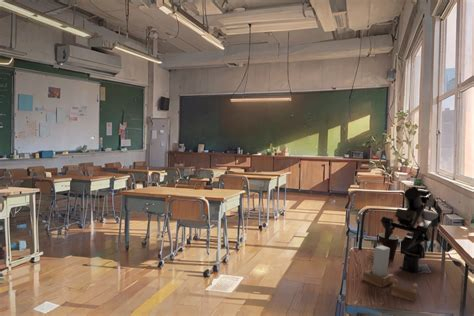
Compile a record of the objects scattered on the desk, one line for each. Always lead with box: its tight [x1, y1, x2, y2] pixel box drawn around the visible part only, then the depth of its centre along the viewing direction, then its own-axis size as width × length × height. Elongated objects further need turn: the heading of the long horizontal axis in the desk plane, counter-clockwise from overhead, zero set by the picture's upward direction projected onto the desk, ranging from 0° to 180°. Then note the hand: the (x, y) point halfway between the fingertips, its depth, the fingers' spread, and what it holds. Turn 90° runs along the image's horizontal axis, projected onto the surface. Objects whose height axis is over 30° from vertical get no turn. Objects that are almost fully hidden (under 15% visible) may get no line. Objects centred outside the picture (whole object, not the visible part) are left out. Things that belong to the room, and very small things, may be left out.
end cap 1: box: [362, 268, 394, 288], centre depth 148 cm, size 8×8×4 cm
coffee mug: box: [376, 232, 400, 261], centre depth 178 cm, size 12×9×10 cm
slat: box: [372, 245, 390, 277], centre depth 148 cm, size 4×4×13 cm
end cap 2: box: [390, 278, 418, 302], centre depth 138 cm, size 8×8×4 cm
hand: (395, 245), depth 152 cm, fingers open, 9 cm apart
